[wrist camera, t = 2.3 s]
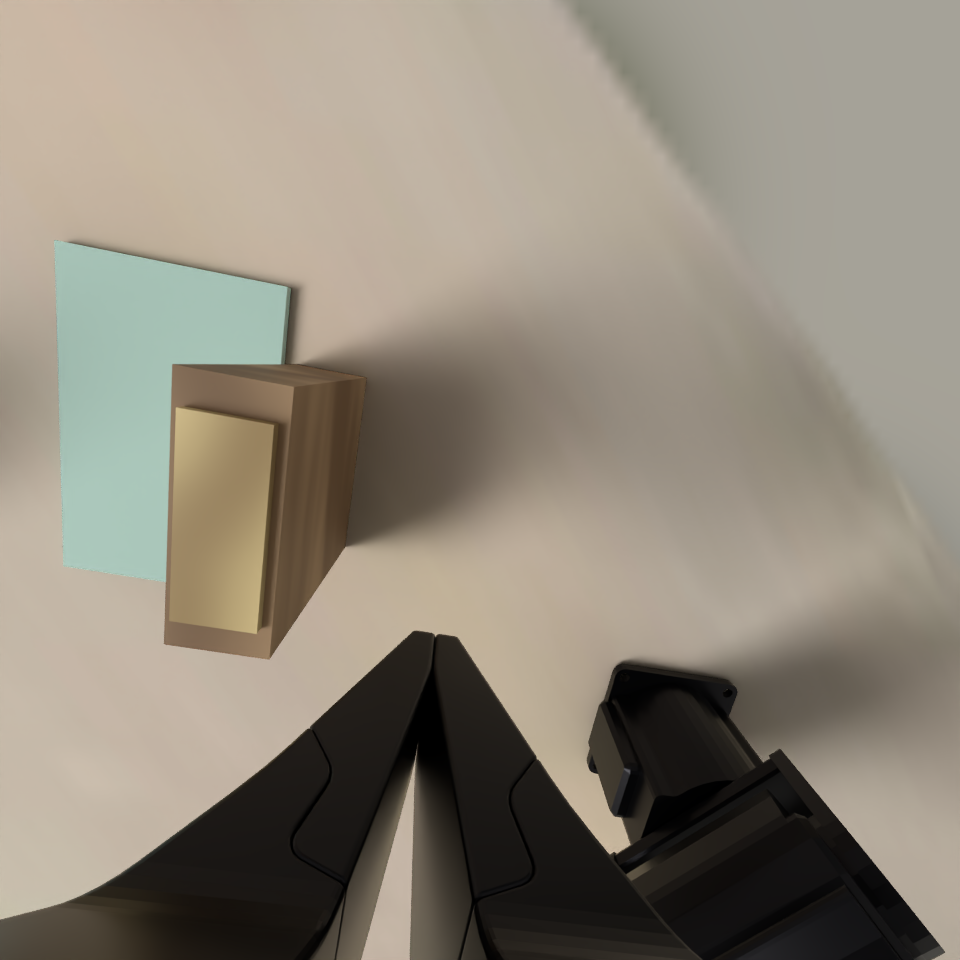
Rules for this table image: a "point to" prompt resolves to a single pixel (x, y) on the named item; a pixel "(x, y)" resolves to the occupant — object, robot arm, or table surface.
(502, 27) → the table surface
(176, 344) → the mat
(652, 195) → the table surface
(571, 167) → the table surface
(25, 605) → the table surface
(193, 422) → the menu stand
